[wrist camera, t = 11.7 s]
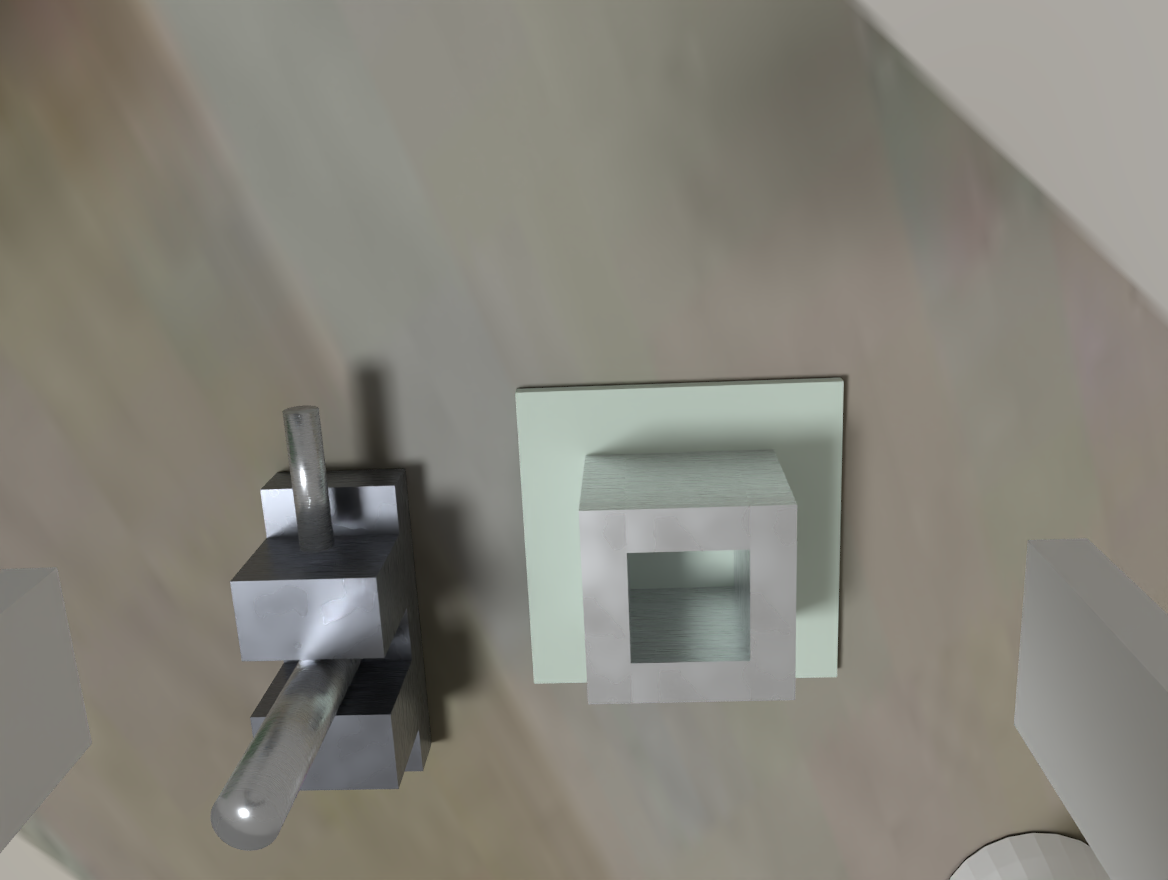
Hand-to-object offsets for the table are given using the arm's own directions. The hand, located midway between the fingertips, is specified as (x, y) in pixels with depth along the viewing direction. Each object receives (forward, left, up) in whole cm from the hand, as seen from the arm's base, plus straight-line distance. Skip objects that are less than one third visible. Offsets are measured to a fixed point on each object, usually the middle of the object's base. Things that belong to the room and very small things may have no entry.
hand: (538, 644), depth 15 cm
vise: (+10, -10, -27) cm, 30 cm away
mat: (+9, +3, -27) cm, 28 cm away
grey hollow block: (+9, +3, -26) cm, 28 cm away
